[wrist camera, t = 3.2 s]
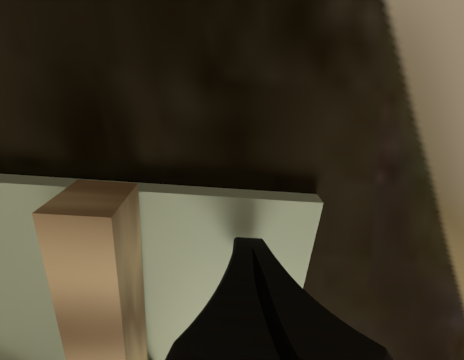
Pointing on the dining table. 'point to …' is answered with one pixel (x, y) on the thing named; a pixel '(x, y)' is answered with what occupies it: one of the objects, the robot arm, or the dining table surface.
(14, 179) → the board
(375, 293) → the dining table surface
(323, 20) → the dining table surface
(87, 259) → the leg
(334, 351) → the robot arm
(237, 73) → the dining table surface
